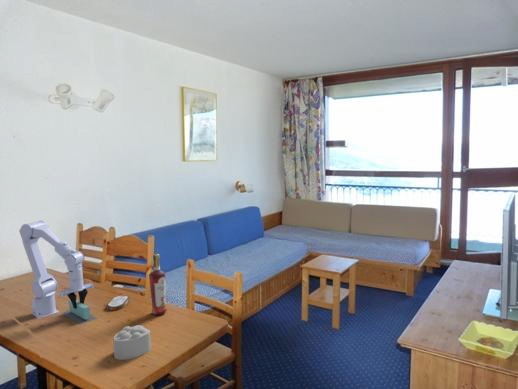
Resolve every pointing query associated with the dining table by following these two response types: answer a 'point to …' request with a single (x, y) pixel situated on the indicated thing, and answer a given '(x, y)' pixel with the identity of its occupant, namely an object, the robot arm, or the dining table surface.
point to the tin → (118, 303)
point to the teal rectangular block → (80, 309)
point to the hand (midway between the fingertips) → (78, 307)
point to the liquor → (157, 288)
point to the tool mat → (77, 318)
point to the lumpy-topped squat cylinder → (131, 342)
